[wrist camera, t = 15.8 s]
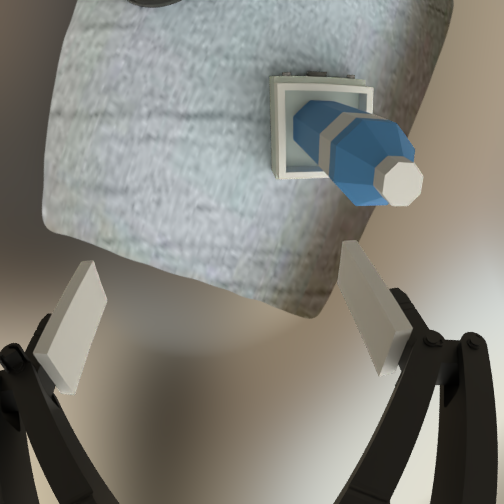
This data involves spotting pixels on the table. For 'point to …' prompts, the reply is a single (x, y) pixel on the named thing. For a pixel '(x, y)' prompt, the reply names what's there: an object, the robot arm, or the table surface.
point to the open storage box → (291, 101)
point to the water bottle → (359, 153)
